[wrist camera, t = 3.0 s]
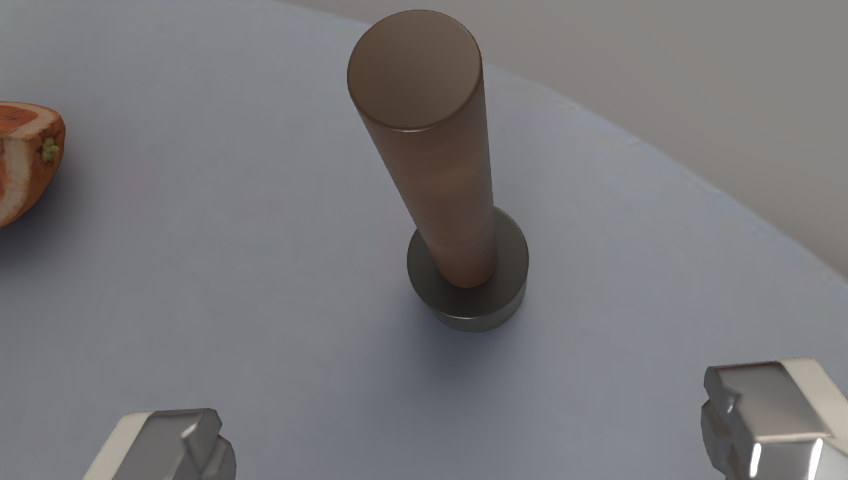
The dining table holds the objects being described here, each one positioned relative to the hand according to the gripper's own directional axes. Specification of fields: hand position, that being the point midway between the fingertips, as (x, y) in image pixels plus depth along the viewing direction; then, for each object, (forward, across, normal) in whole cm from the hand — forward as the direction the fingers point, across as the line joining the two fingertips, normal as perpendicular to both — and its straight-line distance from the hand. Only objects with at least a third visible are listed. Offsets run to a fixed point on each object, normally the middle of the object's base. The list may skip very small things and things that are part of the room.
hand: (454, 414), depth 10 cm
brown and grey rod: (+14, 0, +7) cm, 16 cm away
